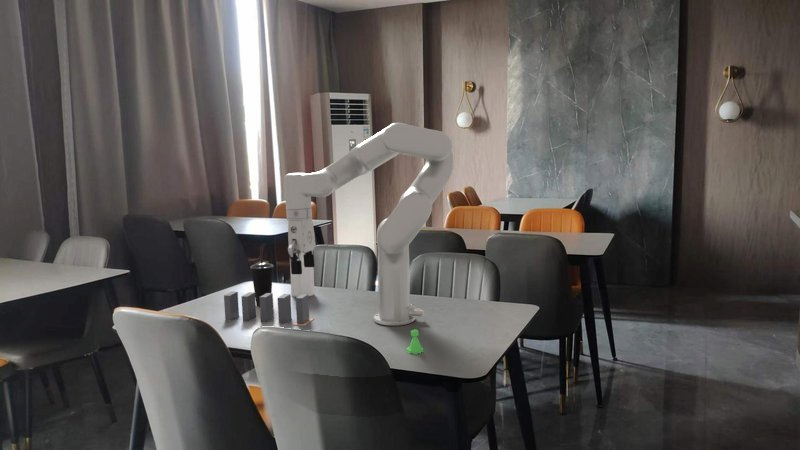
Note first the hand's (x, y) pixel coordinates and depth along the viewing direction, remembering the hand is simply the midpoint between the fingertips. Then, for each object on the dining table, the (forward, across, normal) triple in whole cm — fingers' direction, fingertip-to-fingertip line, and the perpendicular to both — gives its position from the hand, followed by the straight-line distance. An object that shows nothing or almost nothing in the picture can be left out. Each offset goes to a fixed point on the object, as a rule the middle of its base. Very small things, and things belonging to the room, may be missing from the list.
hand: (303, 270), depth 182 cm
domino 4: (+16, 0, +7) cm, 17 cm away
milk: (+16, +31, +14) cm, 37 cm away
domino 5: (+16, 0, +1) cm, 16 cm away
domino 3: (+16, 0, +13) cm, 20 cm away
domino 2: (+16, 0, +19) cm, 25 cm away
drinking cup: (+16, +16, +22) cm, 31 cm away
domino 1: (+15, 0, +25) cm, 29 cm away
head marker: (+16, 0, +1) cm, 16 cm away
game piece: (+17, -19, -38) cm, 46 cm away
